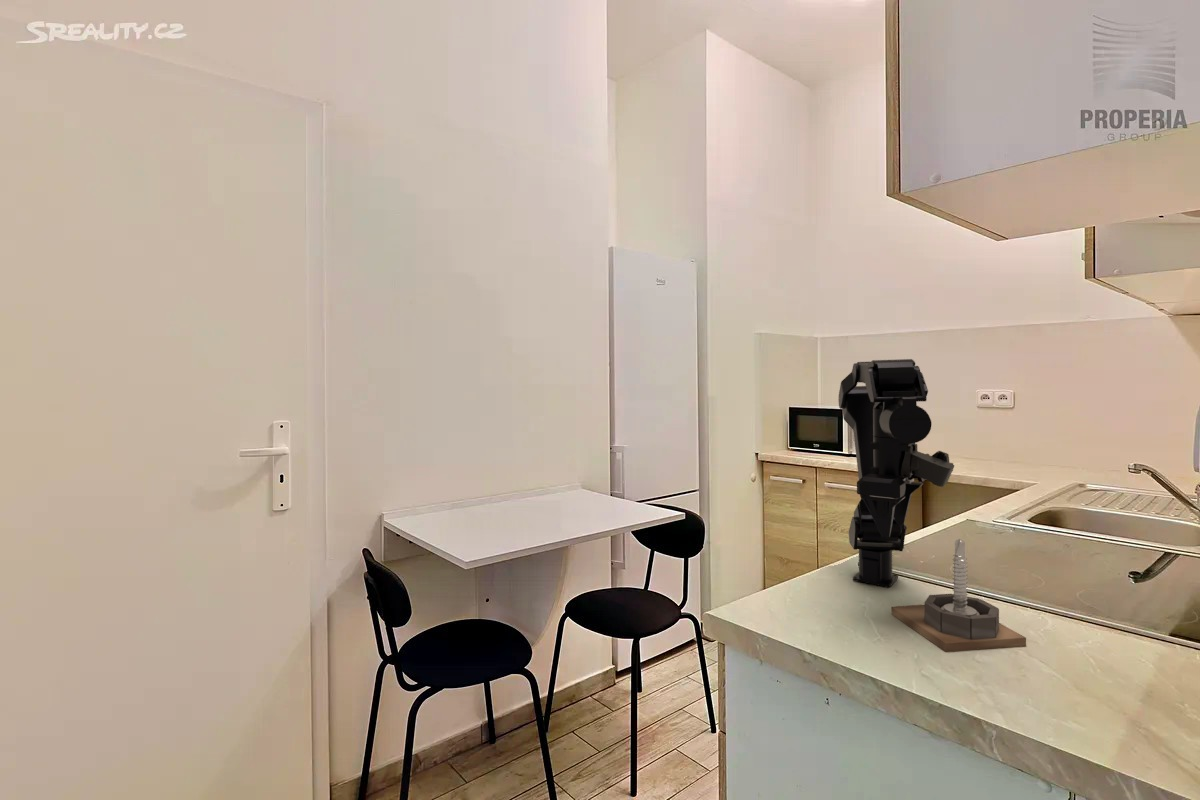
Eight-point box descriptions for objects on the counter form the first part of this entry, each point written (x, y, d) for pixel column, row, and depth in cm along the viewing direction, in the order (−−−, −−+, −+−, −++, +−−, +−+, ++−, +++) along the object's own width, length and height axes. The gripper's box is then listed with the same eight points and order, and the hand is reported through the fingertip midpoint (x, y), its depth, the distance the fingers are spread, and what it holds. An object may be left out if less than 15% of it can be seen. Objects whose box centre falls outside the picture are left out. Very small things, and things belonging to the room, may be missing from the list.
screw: (938, 616, 90) (974, 619, 88) (945, 629, 85) (983, 633, 84) (937, 533, 89) (974, 535, 88) (945, 542, 85) (983, 544, 83)
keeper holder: (891, 613, 94) (891, 588, 94) (961, 609, 95) (961, 583, 95) (945, 651, 81) (945, 622, 81) (1026, 645, 82) (1026, 616, 82)
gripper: (937, 445, 83) (937, 553, 84) (959, 432, 97) (959, 525, 98) (855, 441, 90) (856, 540, 91) (887, 430, 104) (888, 516, 105)
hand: (893, 530), depth 96 cm, fingers open, 9 cm apart
